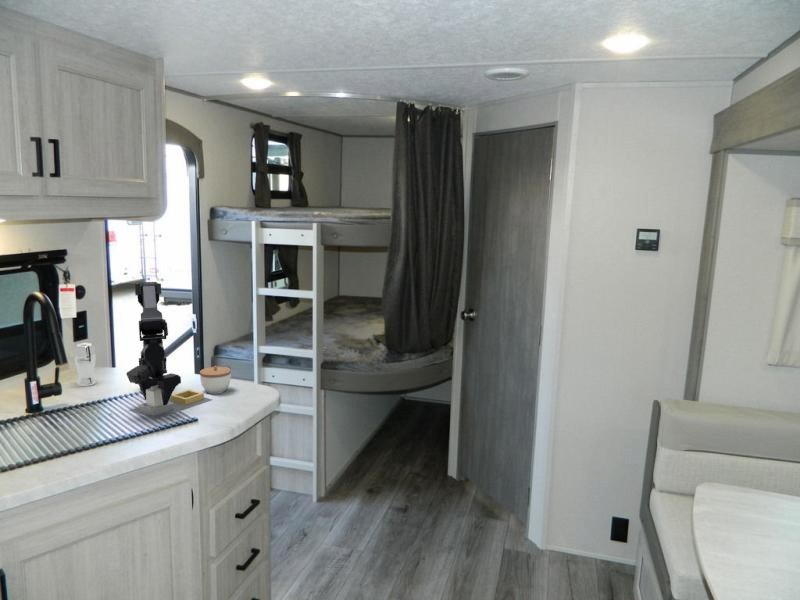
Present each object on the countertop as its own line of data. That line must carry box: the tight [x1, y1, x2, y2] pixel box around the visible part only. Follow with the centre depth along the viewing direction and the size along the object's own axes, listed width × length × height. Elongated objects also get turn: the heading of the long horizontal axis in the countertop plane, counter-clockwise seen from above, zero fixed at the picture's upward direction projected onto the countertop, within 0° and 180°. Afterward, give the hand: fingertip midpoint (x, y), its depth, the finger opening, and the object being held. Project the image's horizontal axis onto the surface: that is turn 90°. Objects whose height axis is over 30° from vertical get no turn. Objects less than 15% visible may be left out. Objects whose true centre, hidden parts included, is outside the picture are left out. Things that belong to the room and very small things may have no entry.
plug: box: [145, 385, 163, 408], centre depth 182 cm, size 4×4×8 cm
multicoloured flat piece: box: [128, 389, 213, 420], centre depth 188 cm, size 14×22×3 cm, turn 149°
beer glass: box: [73, 342, 97, 387], centre depth 211 cm, size 7×7×15 cm
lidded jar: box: [199, 365, 232, 395], centre depth 205 cm, size 11×11×9 cm
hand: (156, 402), depth 183 cm, fingers open, 9 cm apart
